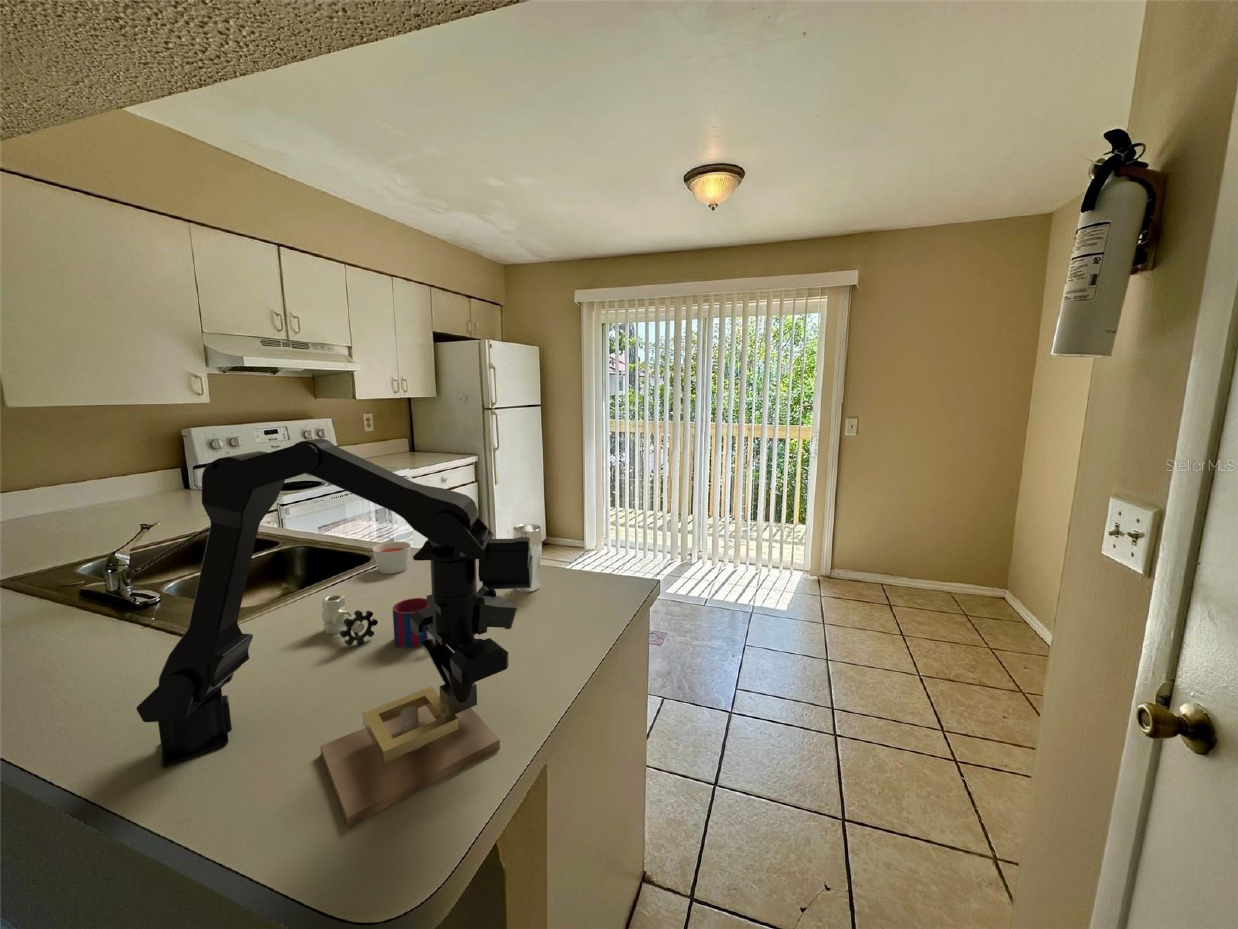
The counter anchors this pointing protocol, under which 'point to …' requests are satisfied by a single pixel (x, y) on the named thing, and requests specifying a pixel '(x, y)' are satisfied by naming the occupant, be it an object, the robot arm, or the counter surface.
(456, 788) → the counter surface
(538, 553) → the beer glass
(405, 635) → the mug
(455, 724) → the brass link
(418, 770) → the plate
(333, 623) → the valve
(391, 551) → the candle
